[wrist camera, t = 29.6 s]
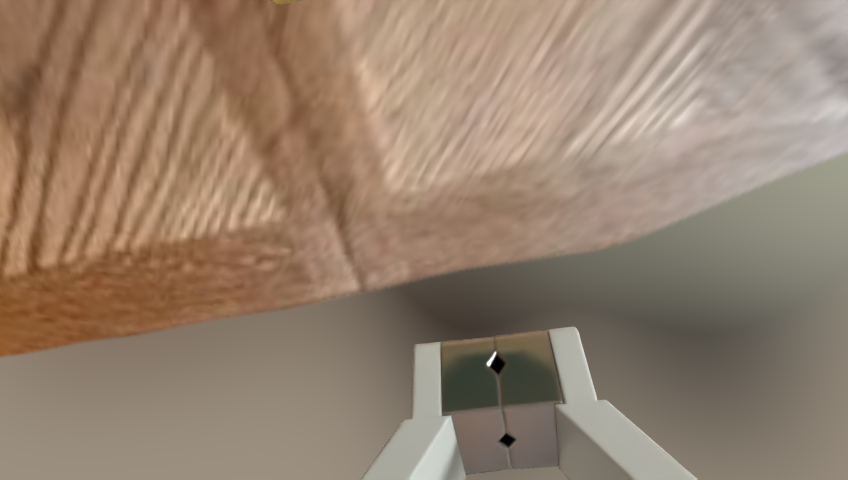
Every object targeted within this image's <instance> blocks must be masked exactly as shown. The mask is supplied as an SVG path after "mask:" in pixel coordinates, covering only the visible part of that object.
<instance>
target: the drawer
mask: <svg viewBox="0 0 848 480" xmlns="http://www.w3.org/2000/svg"><path fill="white" fill-rule="evenodd" d="M272 1H273V3H274V4H276V5H279V4H284V3H289V2H295V1H300V0H272Z"/></svg>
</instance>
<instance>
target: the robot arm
mask: <svg viewBox="0 0 848 480" xmlns="http://www.w3.org/2000/svg"><path fill="white" fill-rule="evenodd" d="M556 466H557V467H558V466H559V469H560V470H561V472H562V473H563V474H564V475H565V476H566V477H567V479H568V480H698V479H697V478H695V477H694V476H693V475H692V474H691V473H690V472H689V471H687V470H686V469H685V468H684V467H683V466H682V465H680V464H679V463H678V462H677V461H676V460H675V459H674V458H672V457H671V456H670V455H669V454H668V453H667V452H666V451H664V450H663V449H662V448H661V447H660V446H659V445H657V444H656V443H655V442H654V441H653V440H652V439H651V438H649V437H648V436H647V435H646V434H645V433H644V432H643V431H641V430H640V429H639V428H638V427H637V426H636V425H634V424H633V423H632V422H631V421H630V420H629V419H628V418H626V417H625V416H624V415H623V414H622V413H621V412H620V411H618V410H617V409H616V408H615V407H614V406H613V405H612V404H610V403H609V402H608V401H607V400H597V397H596V393H595V390H594V386H593V382H592V379H591V375H590V372H589V368H588V365H587V361H586V357H585V354H584V351H583V347H582V343H581V340H580V336H579V332H578V330H577V329H576V328H575V327H567V328H559V329H551V330H548V331H547V330H540V331H532V332H524V333H516V334H508V335H500V336H494V337H489V338H477V339H467V340H455V341H445V342H437V343H426V344H416V345H415V347H414V350H413V368H412V401H411V419H407V420H403V421H402V422H401V424H400V425H399V426H398V428H397V429H396V431H395V432H394V433H393V435H392V436H391V438H390V439H389V440H388V442H387V443H386V445H385V446H384V447H383V449H382V450H381V452H380V453H379V455H378V456H377V457H376V459H375V460H374V462H373V463H372V464H371V466H370V467H369V468H368V470H367V471H366V473H365V474H364V476H363V477H362V478H361V480H465V479H466V475H467V474H475V473H484V472H493V471H501V470H509V469H524V468H540V467H556ZM511 467H512V468H511Z"/></svg>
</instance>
